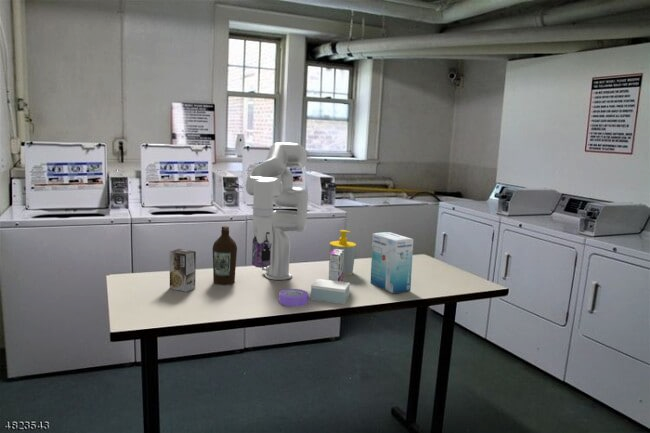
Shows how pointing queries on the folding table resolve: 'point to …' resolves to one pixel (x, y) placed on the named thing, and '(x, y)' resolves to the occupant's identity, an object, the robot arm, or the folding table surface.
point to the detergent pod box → (330, 291)
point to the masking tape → (293, 297)
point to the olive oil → (224, 258)
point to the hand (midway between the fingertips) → (261, 257)
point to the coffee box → (182, 269)
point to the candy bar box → (336, 265)
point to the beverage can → (258, 254)
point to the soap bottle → (345, 252)
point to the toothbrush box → (391, 262)
